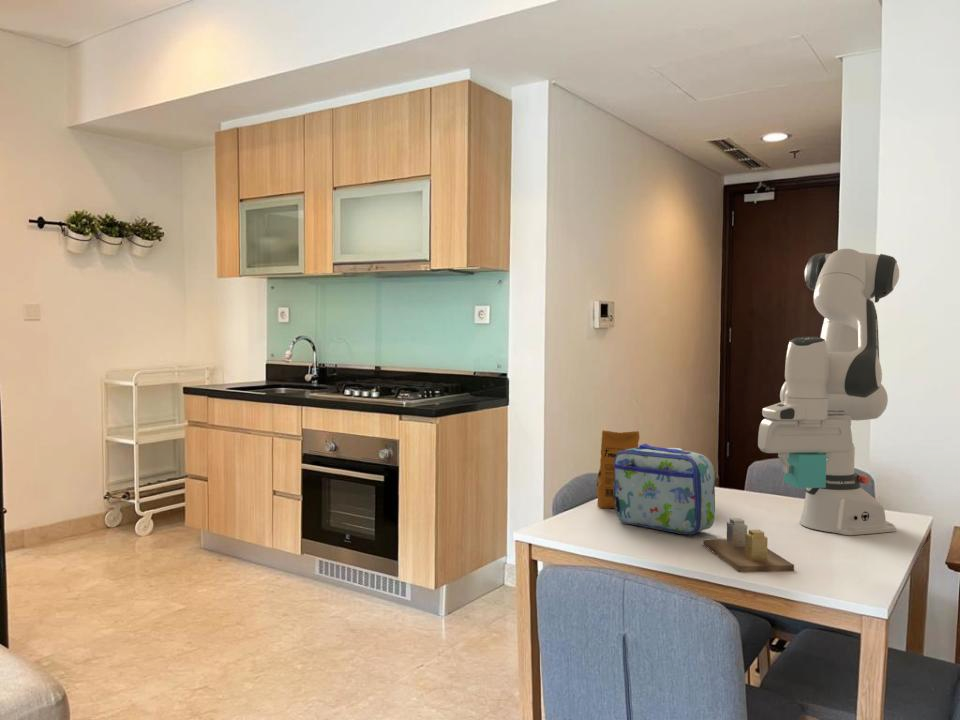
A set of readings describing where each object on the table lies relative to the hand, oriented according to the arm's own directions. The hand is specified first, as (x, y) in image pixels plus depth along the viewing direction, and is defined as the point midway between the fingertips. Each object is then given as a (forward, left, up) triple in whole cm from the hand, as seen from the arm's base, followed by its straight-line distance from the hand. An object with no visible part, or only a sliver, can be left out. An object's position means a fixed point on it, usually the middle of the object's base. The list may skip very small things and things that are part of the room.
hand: (804, 472), depth 164 cm
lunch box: (+23, -28, -20) cm, 41 cm away
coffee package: (+28, -52, -20) cm, 63 cm away
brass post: (+12, +3, -18) cm, 22 cm away
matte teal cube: (0, 0, -3) cm, 3 cm away
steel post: (+12, -7, -18) cm, 23 cm away
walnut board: (+12, -2, -19) cm, 23 cm away
